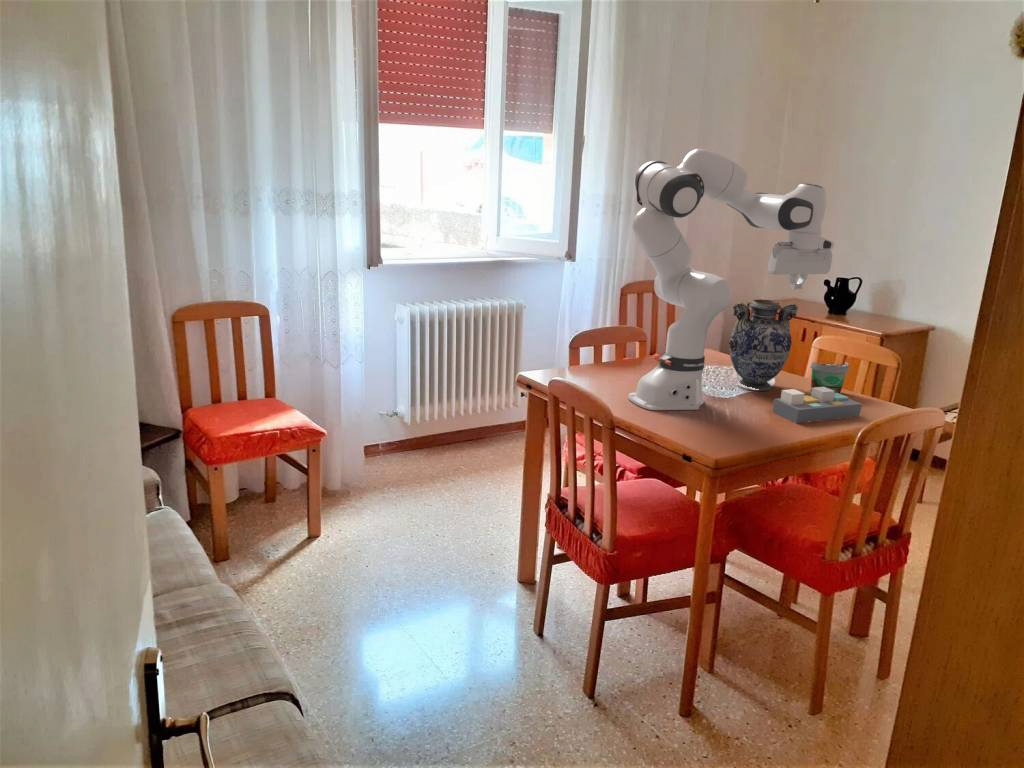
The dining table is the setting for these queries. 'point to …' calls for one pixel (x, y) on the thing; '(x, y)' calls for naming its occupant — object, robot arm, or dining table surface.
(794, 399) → the cream key
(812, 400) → the ochre key
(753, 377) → the decorative vase
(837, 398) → the teal key
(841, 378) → the food container
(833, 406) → the keypad
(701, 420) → the dining table surface
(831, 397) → the grey key
